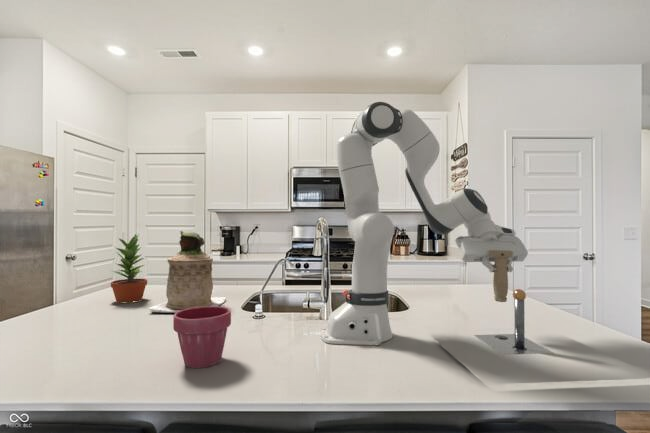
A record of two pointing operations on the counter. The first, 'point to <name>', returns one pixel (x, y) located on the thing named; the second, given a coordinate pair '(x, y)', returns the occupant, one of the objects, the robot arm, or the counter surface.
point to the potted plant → (129, 274)
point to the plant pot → (202, 334)
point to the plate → (511, 344)
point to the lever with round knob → (519, 318)
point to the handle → (500, 274)
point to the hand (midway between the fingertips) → (501, 271)
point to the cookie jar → (189, 278)
